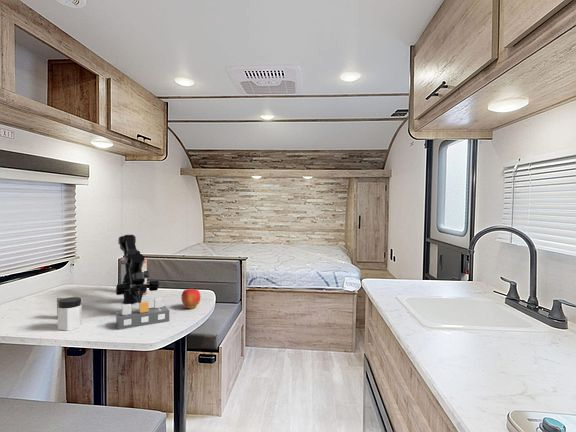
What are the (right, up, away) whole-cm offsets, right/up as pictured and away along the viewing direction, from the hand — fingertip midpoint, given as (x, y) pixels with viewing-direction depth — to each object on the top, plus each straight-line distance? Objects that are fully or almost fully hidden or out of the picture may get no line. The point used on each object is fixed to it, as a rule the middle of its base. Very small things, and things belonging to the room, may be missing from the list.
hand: (140, 302), depth 161 cm
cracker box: (-21, -6, +42) cm, 47 cm away
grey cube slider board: (+4, -7, -6) cm, 10 cm away
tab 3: (+9, -2, -1) cm, 9 cm away
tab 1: (-1, -2, -11) cm, 12 cm away
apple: (+19, -7, +17) cm, 26 cm away
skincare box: (-34, -7, -2) cm, 34 cm away
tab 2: (+5, -2, -8) cm, 9 cm away
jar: (-24, -7, -13) cm, 29 cm away
